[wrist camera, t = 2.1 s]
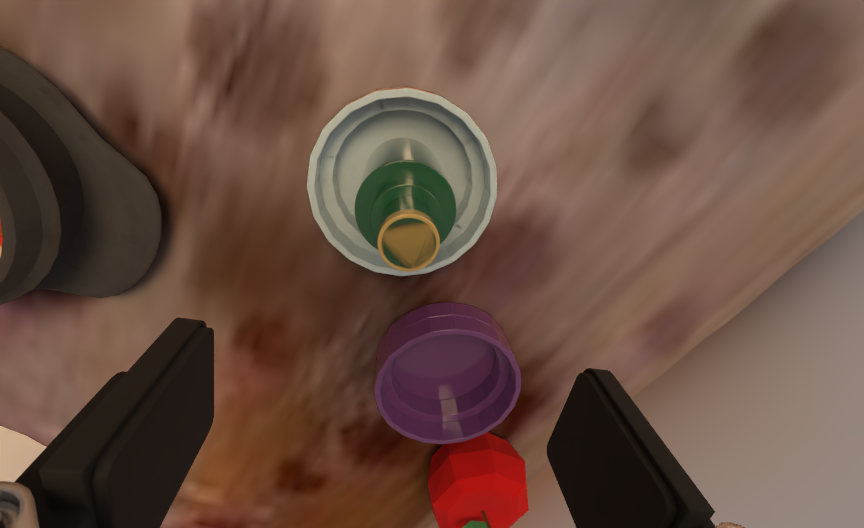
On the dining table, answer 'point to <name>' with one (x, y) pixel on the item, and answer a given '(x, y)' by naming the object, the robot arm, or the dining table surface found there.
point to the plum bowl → (445, 374)
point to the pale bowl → (387, 119)
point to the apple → (478, 484)
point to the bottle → (405, 204)
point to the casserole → (66, 197)
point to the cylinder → (16, 453)
